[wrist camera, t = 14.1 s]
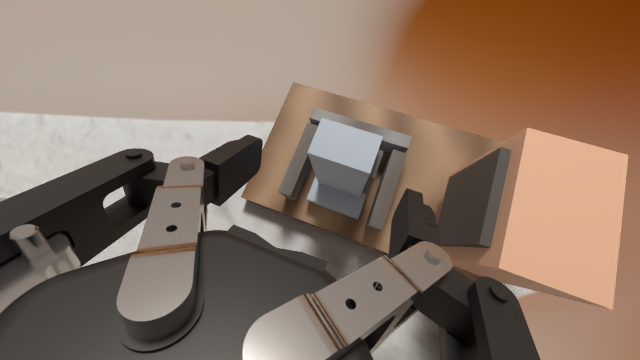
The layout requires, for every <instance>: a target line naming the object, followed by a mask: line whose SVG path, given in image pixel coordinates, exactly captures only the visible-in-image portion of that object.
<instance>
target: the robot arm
mask: <svg viewBox="0 0 640 360" xmlns="http://www.w3.org/2000/svg"><path fill="white" fill-rule="evenodd" d="M261 156H262V139H260V138H257V137H254V136H251V135H246V136H245V137H243V138H241V139H239V140H235V141H230V142H227V143H225V144H224V145H222V146H221V147H218V148H216V150H213V151H211V152H209V153H207V154H206V155H204V156H202V157H200V158H196V157H179V158H176V159H174V160H172V161H171V162H170V163H162V162H155V161H154V156H153V153H152V152H151V151H149V150H146V149H127V150H123V151H120V152H118V153H115V154H113V155H111V156H108V157H106V158H104V159H101V160H99V161H96V162H94V163H92V164H89V165H87V166H84V167H82V168H80V169H77V170H75V171H73V172H70V173H68V174H65V175H63V176H61V177H58V178H56V179H54V180H51V181H49V182H46V183H44V184H42V185H39V186H37V187H34V188H32V189H30V190H27V191H25V192H23V193H20V194H18V195H15V196H13V197H11V198H8V199H5V198H0V360H373V358H372V356H371V353H372V352H373V351H375V350H376V349H377V348H378V347H379V346H380V345H381V344H382V343H383V342H384V340H385V339H386V338H387V337H388V336H389V335H390V334H391V333H393V332H394V331H395V330H396V329H397V328H398V327H400V326H401V325H402V324H403V323H404V322H405V321H407V320H408V319H409V318H410V317H411V316H412V315H413V314H415V313H416V312H417V311H418V310H419V311H420V312H421V313H423V314H424V315H425V316H427V317H428V318H430V319H431V320H432V321H434V322H435V323H436V324H438V325H439V343H440V360H540V358H539V355H538V352H537V350H536V347H535V344H534V341H533V339H532V336H531V334H530V331H529V328H528V325H527V323H526V320H525V318H524V315H523V312H522V310H521V307H520V304H519V302H518V300H517V298H516V297H515V295H514V294H513V293H512V292H511V291H510V290H509V289H508V288H507V287H506V286H504V285H503V284H502V283H500V282H498V281H497V280H495V279H493V278H490V277H485V276H482V277H479V278H477V279H476V280H475V282H474V281H473V280H471V279H469V278H468V277H466V276H465V275H463V274H461V273H460V272H458V271H457V270H455V269H454V268H453V263H452V260H451V258H450V256H449V255H448V253H447V252H446V251H445V250H443V249H442V248H441V245H440V239H439V233H438V229H437V222H436V216H435V213H434V211H433V210H432V208H431V207H430V206H428V205H426V204H424V203H423V194H422V193H421V192H418V191H415V190H412V189H409V188H407V189H406V190H405V192H404V194H403V196H402V198H401V200H400V202H399V204H398V206H397V208H396V210H395V212H394V215H393V218H392V222H391V233H390V245H389V257H388V256H387V255H384V256H381V257H379V258H378V259H376V260H374V261H372V262H370V263H368V264H367V265H365V266H363V267H361V268H359V269H358V270H356V271H354V272H352V273H350V274H349V275H347V276H345V277H343V278H341V279H339V280H338V281H337V280H336V279H335V278H334V277H333V276H332V275H330V274H329V273H328V272H327V271H325V270H324V269H325V266H326V263H327V262H325V261H323V260H320V259H318V258H315V257H313V256H311V255H308V254H306V253H303V252H297V251H292V250H286V249H280V248H276V247H274V246H272V245H271V244H270V243H268V242H267V241H265V240H264V239H263V238H261V237H260V236H258V235H257V234H255V233H253V232H251V231H248V230H246V229H243V228H241V227H238V226H236V225H233V226H232V227H231V228H230V229H229V230H228V231H223V230H212V231H207V212H208V209H207V205H208V204H209V203H213V204H215V205H218V206H221V205H222V204H223V203H224V202H225V201H226V200H227V199H229V198H230V197H231V196H232V195H233V194H234V193H235V192H237V191H238V190H239V189H240V188H241V187H242V186H243V185H245V184H246V183H247V182H248V181H249V180H250V179H251V178H253V177H254V176H255V175H256V174H257V173H258V171H259V169H260V166H261ZM122 186H123V189H124V192H125V195H126V196H125V197H123V198H121V199H120V200H118V201H116V202H115V203H113V204H111V205H110V206H108V207H106V208H105V209H104V207H103V200H104V198H105V197H106V196H107V195H108V194H109V193H111V192H113V191H115V190H117V189H118V188H120V187H122ZM146 218H147V220H146V223H145V226H144V229H143V233H142V236H141V239H140V242H139V246H138V249H137V251H135V252H132V253H128V254H125V255H122V256H118V257H115V258H111V259H108V260H105V261H101V262H98V263H95V264H91V265H88V266H84V267H81V266H83V265H84V264H85V263H87V262H88V261H89V260H91V259H92V258H93V257H95V256H96V255H97V254H99V253H100V252H101V251H103V250H104V249H106V248H107V247H108V246H110V245H111V244H112V243H114V242H115V241H116V240H118V239H119V238H120V237H122V236H123V235H124V234H126V233H127V232H129V231H130V230H131V229H133V228H134V227H135V226H137V225H138V224H139V223H141V222H142V221H143V220H145V219H146ZM80 267H81V268H80Z"/></svg>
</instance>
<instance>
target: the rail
mask: <svg viewBox="0 0 640 360" xmlns="http://www.w3.org/2000/svg"><path fill="white" fill-rule="evenodd" d="M321 118H325V119H328V120H331V121H334V122H338V123H341V124H344V125H348V126H351V127H354V128H357V129H361V130H364V131H367V132H370V133H374V134H377V135H380V136H383V138H382V141H381V144H380V147H379V150H382V151H384V152H383V155H382V158H381V161H380V164H379V167H378V170H377V173H376V176H375V179H374V180H373V182H372V184H371V186H370V188H369V190H368V192H367V194H366V197H365V200H364V203H363V206H362V209H361V212H360V215H359V218H358V219H354V218H352V217H349V216H346V215H344V214H341V213H338V212H336V211H333V210H330V209H327V208H325V207H322V206H319V205H317V204H314V203H311V202H309V201H308V200H307V197H308V194H309V192H310V189H311V187H312V184H313V181H314V179H315V176H316V175H315V173H314V170H313V167H312V164H311V161H310V159H309V156H308V153H307V152H308V150H309V147H310V145H311V142H312V140H313V138H314V135H315V133H316V130H317V128H318V125H319V123H320V121H321ZM501 143H503V142H501V141H497V140H494V139H490V138H487V137H483V136H480V135H476V134H472V133H469V132H466V131H462V130H458V129H455V128H452V127H448V126H445V125H441V124H438V123H434V122H430V121H427V120H424V119H420V118H417V117H413V116H410V115H406V114H402V113H399V112H396V111H392V110H389V109H385V108H382V107H378V106H374V105H371V104H368V103H364V102H361V101H357V100H353V99H350V98H347V97H343V96H340V95H336V94H332V93H329V92H325V91H322V90H319V89H315V88H312V87H308V86H304V85H301V84H298V83H293V84H292V87H291V89H290V91H289V93H288V95H287V98H286V100H285V102H284V104H283V106H282V108H281V111H280V113H279V115H278V117H277V119H276V122H275V124H274V126H273V128H272V130H271V133H270V135H269V137H268V139H267V141H266V144H265V146H264V148H263V150H262V156H261V166H260V169H259V171H258V173H257V174H256V175H255V176H254V177H253V178H251V179H250V180H249V181H248V183H247V185H246V187H245V190H244V192H243V194H242V196H241V197H242V198H244V199H247V200H249V201H252V202H254V203H257V204H260V205H262V206H265V207H267V208H270V209H273V210H275V211H278V212H280V213H283V214H286V215H288V216H291V217H293V218H296V219H299V220H301V221H304V222H306V223H309V224H312V225H314V226H317V227H319V228H322V229H325V230H327V231H330V232H332V233H335V234H338V235H340V236H343V237H345V238H348V239H351V240H353V241H356V242H358V243H361V244H364V245H366V246H369V247H371V248H374V249H377V250H379V251H382V252H385V253H387V254H389V245H390V233H391V222H392V218H393V215H394V212H395V210H396V208H397V206H398V204H399V202H400V200H401V198H402V196H403V194H404V192H405V190H406V189H407V188H409V189H412V190H415V191H418V192H421V193H422V194H423V203H424V204H426V205H428V206H430V207H431V208H432V210H433V211H434V213H435V216H436V222H437V219H438V215H439V211H440V207H441V204H442V200H443V196H444V193H445V189H446V185H447V181H448V178H449V175H450V174H452V173H454V172H455V171H457V170H459V169H460V168H462V167H464V166H465V165H467V164H468V163H470V162H472V161H473V160H475V159H477V158H478V157H480V156H482V155H483V154H485V153H487V152H488V151H490V150H491V149H493V148H495V147H496V146H498V145H500V144H501ZM453 268H454V269H455V270H457V271H458V272H460V273H461V274H463V275H465V276H466V277H468V278H469V279H471V280H473V281H474V282H475V280H476V279H477V278H479V277H481V276H478V275H476V274H473V273H470V272H468V271H465V270H462V269H460V268H457V267H454V266H453Z"/></svg>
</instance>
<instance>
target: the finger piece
mask: <svg viewBox="0 0 640 360" xmlns="http://www.w3.org/2000/svg"><path fill="white" fill-rule="evenodd" d="M382 138H383V136H380V135H377V134H374V133H370V132H367V131H364V130H361V129H357V128H354V127H351V126H348V125H344V124H341V123H338V122H334V121H331V120H328V119H325V118H321V121H320V123H319V125H318V128H317V130H316V133H315V135H314V138H313V140H312V142H311V145H310V147H309V150H308V152H307V153H308V156H309V159H310V161H311V164H312V167H313V170H314V173H315V175H316V176H315V179H314V181H313V184H312V187H311V189H310V192H309V194H308V197H307V200H308V201H309V202H311V203H314V204H317V205H319V206H322V207H325V208H327V209H330V210H333V211H336V212H338V213H341V214H344V215H346V216H349V217H352V218H354V219H358V218H359V215H360V212H361V209H362V206H363V203H364V200H365V197H366V194H367V192H368V190H369V188H370V186H371V184H372V182H373V180H374V179H375V176H376V173H377V170H378V167H379V164H380V161H381V158H382V155H383V152H384V151H382V150H379V147H380V144H381V141H382Z"/></svg>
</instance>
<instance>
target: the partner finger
mask: <svg viewBox="0 0 640 360" xmlns="http://www.w3.org/2000/svg"><path fill="white" fill-rule="evenodd" d="M627 163H628V155H626V154H622V153H619V152H614V151H611V150H607V149H604V148H600V147H597V146H592V145H589V144H585V143H582V142H578V141H575V140H571V139H567V138H564V137H560V136H556V135H552V134H549V133H545V132H541V131H538V130H534V129H530V128H526V129H524V130H523V131H521V132H519V133H518V134H516V135H514V136H513V137H511V138H510V139H508V140H506V141H505V142H503V143H501V144H500V145H498V146H496V147H495V148H493V149H491V150H490V151H488V152H487V153H485V154H483V155H482V156H480V157H478V158H477V159H475V160H473V161H472V162H470V163H468V164H467V165H465V166H464V167H462V168H460V169H459V170H457V171H455V172H454V173H452V174H450V175H449V178H448V181H447V185H446V189H445V193H444V196H443V200H442V204H441V207H440V211H439V215H438V219H437V229H438V233H439V239H440V245H441V248H442V249H443V250H445V251H446V252H447V253H448V255H449V256H450V258H451V260H452V263H453V266H454V267H457V268H460V269H462V270H465V271H468V272H470V273H473V274H476V275H478V276H481V277H482V276H485V277H490V278H493V279H495V280H497V281H499V282H503V283H507V284H511V285H515V286H519V287H523V288H527V289H531V290H535V291H539V292H543V293H547V294H551V295H555V296H559V297H563V298H567V299H571V300H575V301H579V302H583V303H587V304H591V305H595V306H599V307H603V308H607V309H611V310H613V302H614V292H615V282H616V273H617V272H616V271H617V263H618V262H617V261H618V252H619V242H620V233H621V223H622V213H623V203H624V193H625V183H626V173H627Z"/></svg>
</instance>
